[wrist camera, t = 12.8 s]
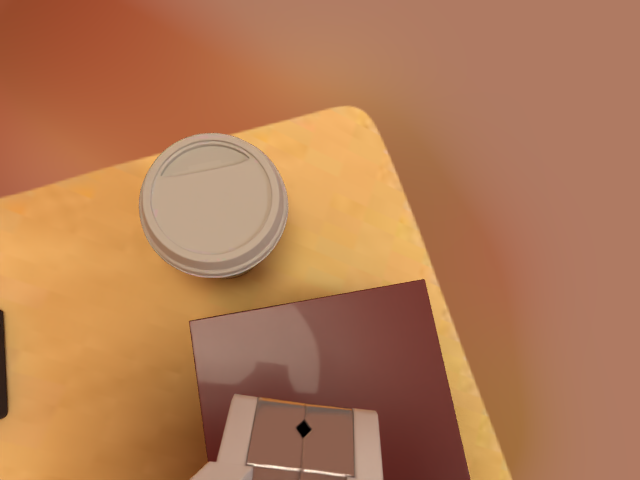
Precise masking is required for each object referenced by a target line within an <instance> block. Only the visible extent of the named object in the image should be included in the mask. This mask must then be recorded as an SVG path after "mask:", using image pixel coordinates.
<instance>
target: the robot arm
mask: <svg viewBox="0 0 640 480" xmlns="http://www.w3.org/2000/svg"><path fill="white" fill-rule="evenodd" d="M189 480H383V468H382V457H381V445H380V433H379V421H378V414H377V412H376V411H373V410H364V409H356V408H352V409H351V408H349V407H339V406H330V405H320V404H311V403H298V402H291V401H284V400H278V399H271V398H264V397H259V398H258V397H254V396H247V395H240V394H234V396H233V398H232V400H231V404H230V408H229V412H228V416H227V421H226V425H225V429H224V433H223V437H222V441H221V445H220V449H219V453H218V457H217V461H216V462H212V461H209V462H208V463H207V464H205V465H204V466H203V467H202V468H201V469H200V470H199V471H198V472H197V473H196V474H195V475H194V476H193V477H192V478H190V479H189Z"/></svg>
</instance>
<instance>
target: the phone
mask: <svg viewBox="0 0 640 480" xmlns="http://www.w3.org/2000/svg"><path fill="white" fill-rule="evenodd" d="M6 415H7V396H6V374H5V352H4V330H3V312H2V311H1V310H0V419H2V418H4V417H5V416H6Z"/></svg>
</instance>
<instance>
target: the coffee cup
mask: <svg viewBox="0 0 640 480" xmlns="http://www.w3.org/2000/svg"><path fill="white" fill-rule="evenodd" d="M139 213H140V219H141V224H142V228H143V231H144V233H145V236H146V238H147V240H148V242H149V243H150V245H151V246H152V248H153V249H154V250H155V252H156V253H157V254H158V255H159V256H160V257H161V258H162V259H163V260H164V261H166V262H167V263H168V264H170V265H171V266H173V267H174V268H176V269H178V270H180V271H182V272H185V273H187V274H190V275H194V276H199V277H206V278H234V277H238V276H241V275H243V274H245V273H247V272H248V271H250V270H251V269H252V268H253V267H254V266H255V265H257V264H258V263H259V262H261V261H262V260H263V259H264V258H265V257H267V256H268V255H269V253H270V252H271V251H272V250H273V249H274V247H275V246H276V245H277V243H278V241H279V240H280V238H281V236H282V234H283V231H284V228H285V225H286V221H287V216H288V197H287V192H286V188H285V185H284V182H283V180H282V178H281V176H280V174H279V172H278V170H277V168H276V167H275V165H274V164H273V163H272V161H271V160H270V159H269V158H268V157H267V156H266V155H265V154H264V153H263V152H262V151H261V150H259V149H258V148H256V147H255V146H253V145H252V144H250V143H248V142H246V141H244V140H241V139H239V138H237V137H234V136H231V135H226V134H219V133H204V134H197V135H193V136H190V137H187V138H184V139H182V140H180V141H178V142H176V143H174V144H173V145H171V146H170V147H168V148H167V149H166V150H165V151H163V152H162V153H161V155H160V156H159V157H158V158H157V159H156V160H155V162H154V163H153V164H152V166H151V168H150V169H149V171H148V173H147V174H146V176H145V179H144V181H143V184H142V187H141V191H140V197H139Z"/></svg>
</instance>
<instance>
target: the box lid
mask: <svg viewBox="0 0 640 480" xmlns="http://www.w3.org/2000/svg"><path fill="white" fill-rule="evenodd" d="M189 324H190V332H191V339H192V347H193V354H194V362H195V369H196V376H197V384H198V391H199V399H200V406H201V414H202V421H203V428H204V436H205V443H206V451H207V458H208V462H209V461H212V462H216V461H217V457H218V453H219V449H220V445H221V441H222V437H223V433H224V429H225V425H226V421H227V416H228V412H229V408H230V404H231V400H232V398H233V396H234V394H240V395H247V396H254V397H258V398H259V397H264V398H271V399H278V400H284V401H291V402H298V403H311V404H320V405H330V406H339V407H349V408H351V409H352V408H356V409H364V410H373V411H376V412H377V414H378V421H379V433H380V445H381V457H382V468H383V480H470V476H469V471H468V467H467V463H466V458H465V454H464V450H463V445H462V441H461V436H460V432H459V428H458V423H457V419H456V414H455V410H454V406H453V401H452V397H451V393H450V388H449V384H448V379H447V375H446V371H445V366H444V362H443V358H442V353H441V349H440V344H439V340H438V336H437V331H436V327H435V322H434V318H433V314H432V309H431V305H430V301H429V296H428V292H427V287H426V283H425V280H424V279H422V280H417V281H411V282H405V283H400V284H394V285H389V286H383V287H377V288H372V289H366V290H360V291H355V292H349V293H344V294H338V295H332V296H327V297H321V298H315V299H310V300H304V301H299V302H293V303H287V304H282V305H276V306H270V307H265V308H259V309H254V310H248V311H242V312H237V313H231V314H225V315H220V316H214V317H209V318H203V319H197V320H192V321H189Z"/></svg>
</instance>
